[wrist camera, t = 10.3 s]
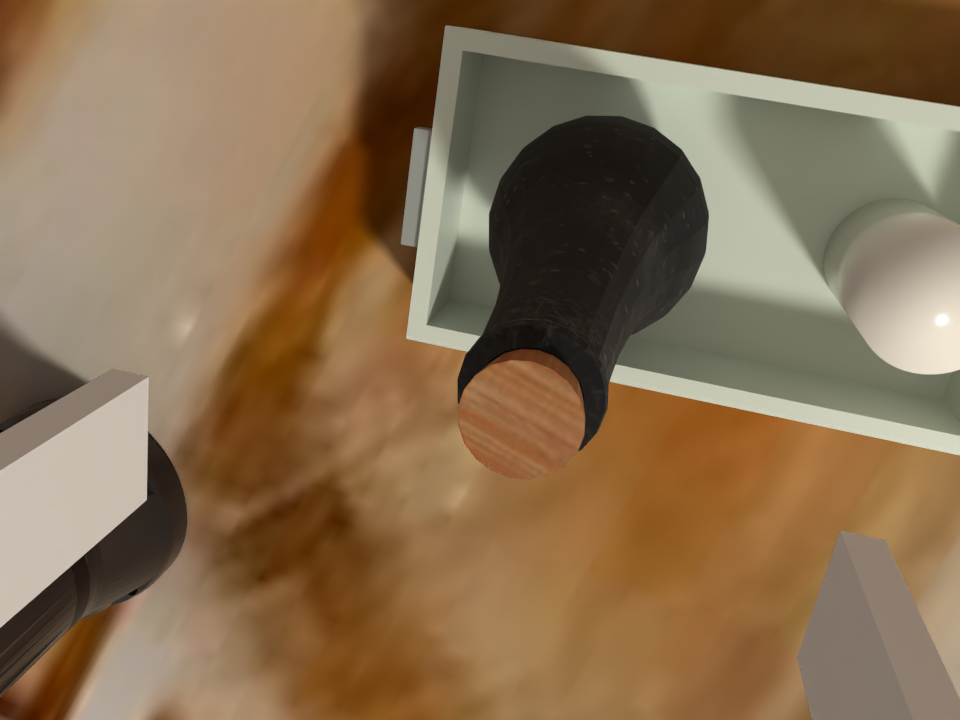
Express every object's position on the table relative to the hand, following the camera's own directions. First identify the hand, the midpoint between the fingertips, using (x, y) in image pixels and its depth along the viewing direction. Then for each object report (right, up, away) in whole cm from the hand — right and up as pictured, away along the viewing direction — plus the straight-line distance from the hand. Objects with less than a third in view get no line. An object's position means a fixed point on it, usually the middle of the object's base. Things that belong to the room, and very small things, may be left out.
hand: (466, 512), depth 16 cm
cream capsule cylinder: (+22, +8, +30) cm, 38 cm away
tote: (+13, +10, +32) cm, 36 cm away
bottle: (+7, +11, +32) cm, 35 cm away
